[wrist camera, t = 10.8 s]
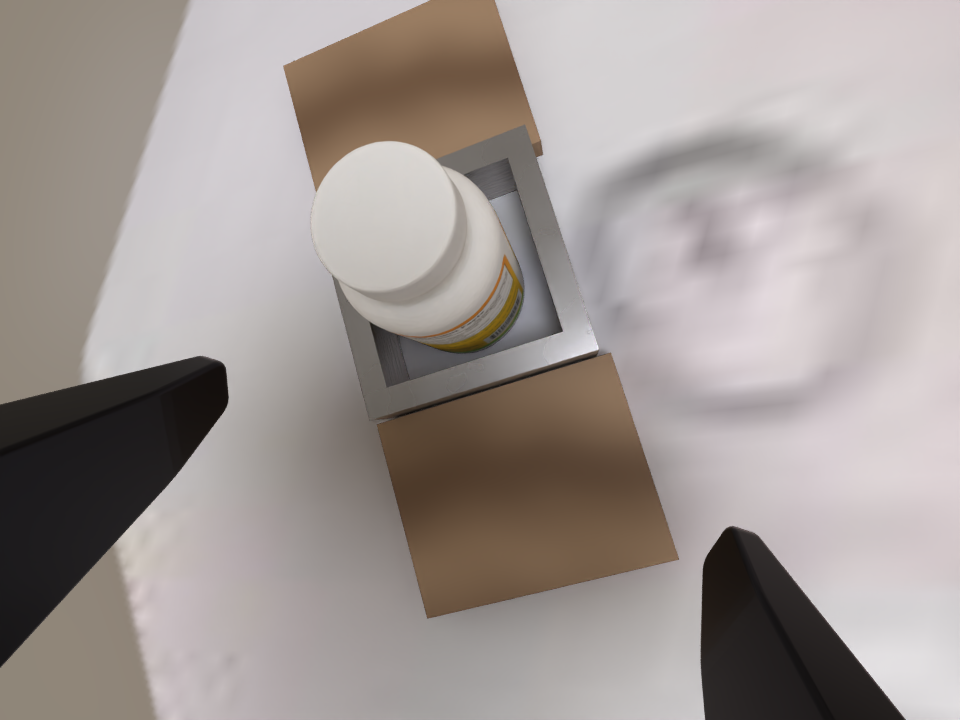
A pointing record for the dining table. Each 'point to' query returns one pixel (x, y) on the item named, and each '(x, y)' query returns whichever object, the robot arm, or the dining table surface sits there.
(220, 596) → the dining table surface
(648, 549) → the brown flat rectangular board
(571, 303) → the grey square frame
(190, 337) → the dining table surface
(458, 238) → the supplement bottle
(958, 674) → the dining table surface
